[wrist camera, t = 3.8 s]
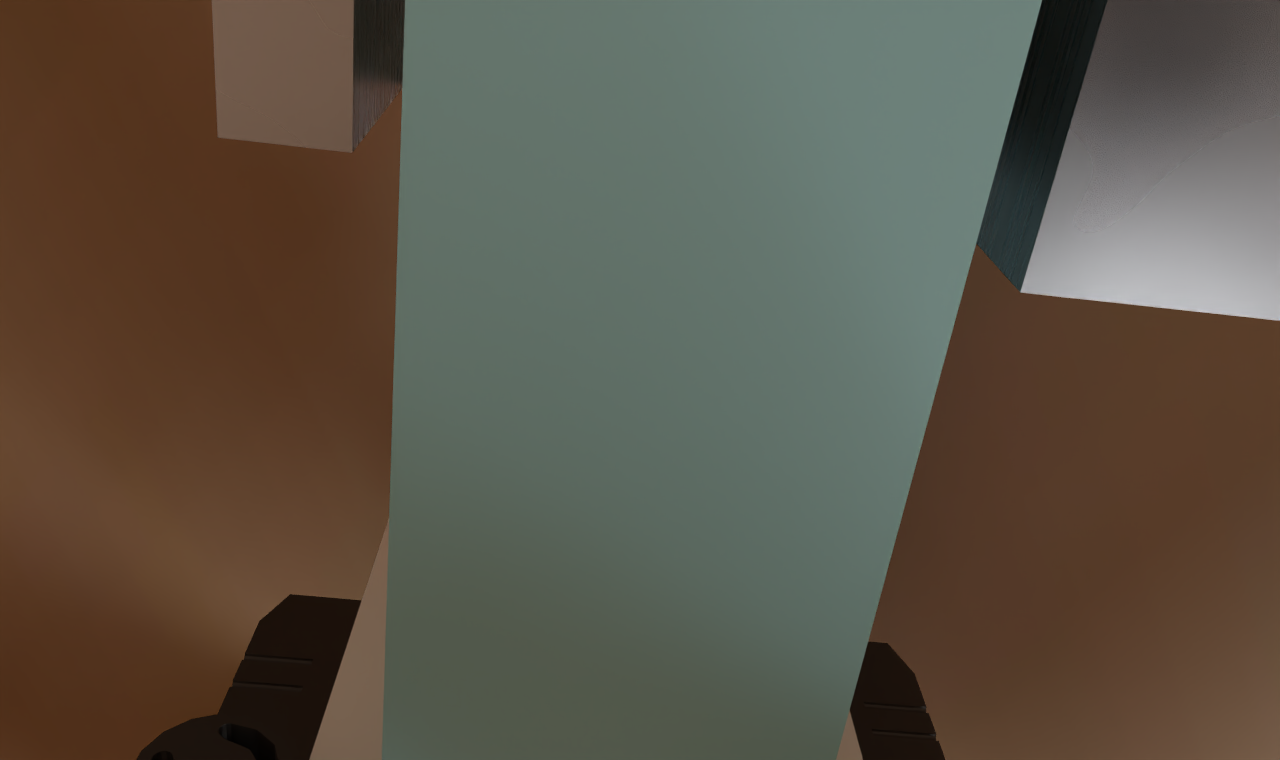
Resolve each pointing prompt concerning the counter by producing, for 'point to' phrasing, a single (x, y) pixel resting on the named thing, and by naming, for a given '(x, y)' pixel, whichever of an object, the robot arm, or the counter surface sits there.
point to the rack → (1030, 157)
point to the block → (669, 358)
